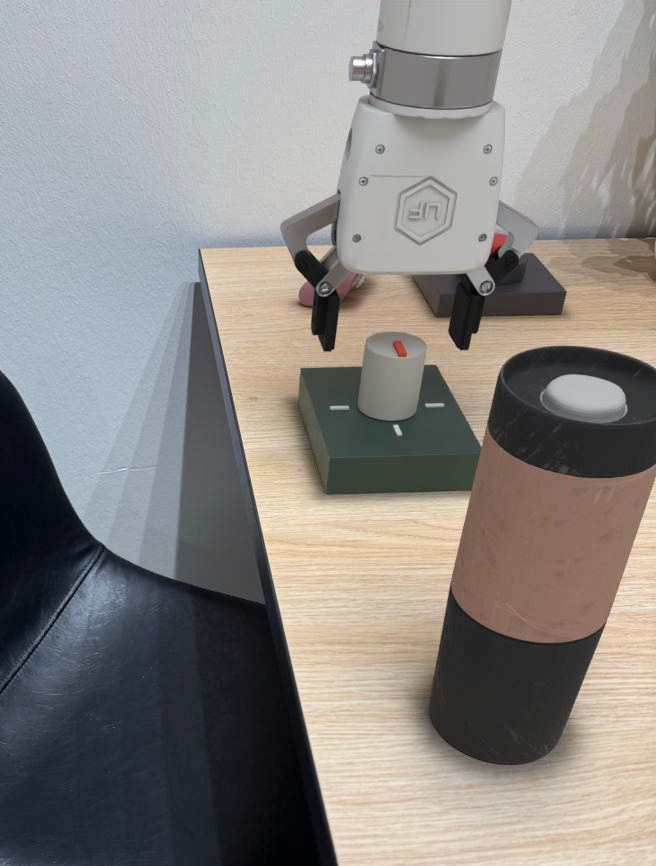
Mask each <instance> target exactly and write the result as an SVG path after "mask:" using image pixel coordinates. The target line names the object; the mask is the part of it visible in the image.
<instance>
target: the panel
mask: <svg viewBox="0 0 656 866" xmlns="http://www.w3.org/2000/svg"><path fill="white" fill-rule="evenodd" d="M361 372H362V365H361V366H326V367H325V366H324V367H323V366H322V367H321V366H320V367H300V370H299V383H298V394H297V404H298V408H299V410H300V414H301V417H302V420H303V423H304V426H305V430H306V433H307V436H308V439H309V443H310V446H311V449H312V452H313V456H314V458H315V462H316V466H317V469H318V472H319V476H320V478H321V482H322V485H323V489H324V492H325V494H326V495H336V494H337V495H338V494H340V495H342V494H343V495H344V494H370V493H371V494H373V493H406V492H407V493H408V492H409V493H410V492H436V491H437V492H439V491H441V492H442V491H472V487H473V482H474V478H475V474H476V469H477V465H478V461H479V456H480V452H481V448H482V444H481V443H480V442H479V440H478V438H477V436H476V434H475V432H474V431H473V429H472V427H471V425H470V424H469V421H468V420H467V418H466V416H465V414H464V413H463V411H462V408H461V407H460V406H459V404H458V401H457V400H456V397H454V394H453V392H452V391H451V389H450V387H449V386H448V384H447V382H446V380H445V378H444V376H443V374H442V372H441V370H440V369H439V367H438V365H437V364H424V369H423V375H422V381H421V387H420V393H419V399H418V405H417V411H416V413H415V414H414V415H413V416H411V417H410V418H407V419H404V420H398V421H385V420H378V419H374V418H371V417H369V416H367V415H365V414H364V413H362V412H361V411H360V410H359V408H358V396H359V388H360V380H361Z"/></svg>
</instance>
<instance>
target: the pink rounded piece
mask: <svg viewBox="0 0 656 866" xmlns="http://www.w3.org/2000/svg"><path fill="white" fill-rule="evenodd" d="M364 282H365V275H364V274H358V273H354V272H352V273H351V274H350V275H349V276H348V277H347V278H346V279H345V280H344V281H343V282H342V283H341V284H340V285H339V286H338V287H337V289H336V291H337V293H338V295H339V297H340V303H341V302H342V301H343V300H344V299H345V297H346V296H347V295H348V293H349V292H350V291H353V289H355V287H356V288H359V287H361V286H362V284H363V283H364ZM314 289H315V288H314V287H313V286H312V285H311V284H310V283H309V282H308V281H307V280H306V282H304V283H303V284H302V286H300V289H299V291H298V300H299V302H300V303H301V304H302V305H304V306H306V307H313V299H314Z"/></svg>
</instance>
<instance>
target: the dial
mask: <svg viewBox="0 0 656 866" xmlns="http://www.w3.org/2000/svg"><path fill="white" fill-rule="evenodd" d="M427 350H428V345H427V343H426V341H425V340H424V339H422V338H420V337H419V336H417V335H415V334H411V333H406V332H402V331H382V332H377V333H373V334H372V335H370V336H368V337H367V338H366V340H365V342H364V350H363V358H362V364H361V366H362V372H361V380H360V388H359V396H358V408H359V410H360V411H361V412H362V413H364V414H365V415H367V416H369V417H371V418H374V419H378V420H385V421H398V420H404V419H407V418H410V417H411V416H413V415H414V414H415V413H416V411H417V405H418V399H419V393H420V387H421V381H422V375H423V369H424V365H425V363H426V357H427Z"/></svg>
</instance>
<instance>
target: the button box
mask: <svg viewBox="0 0 656 866" xmlns="http://www.w3.org/2000/svg"><path fill="white" fill-rule="evenodd" d="M465 275H466V274H465V273H463V274H433V275H412V278H413V280H414V282H415V284H416V285H417V287H418V288H419V290H420V292H421V294H422V295H423V297H424V298H425V300H426V301H427V303H428V305H429V307H430V308H431V310H432V312H433V313H434V315H435V317H437V318H445V317H446V318H447V317H449V318H451V313H452V308H453V303H454V297H455V292H456V287H457V284H458V283H460V279H464V277H465ZM567 293H568V290H566V289H565V288H564V286H563V285H562V284H561V283H560V282H559V281H558V279H557V278H556V277H555V276H554V275H553V274H552V273H551V272H550V270H549V269H548V268H547V267H546V265H545V264H543V262H542V261H541V260H540V259H539V257H538V256H537V255H536V254H535V253H534V252H525V254H524V255H522V256H521V257H520V259H519V264H518V265H517V267H516V268H515V269H513V270H512V271H511V272H510V273H509V274H507V275H506V276H505V277H504V278H503V279H501V280H500V281H499V282H498V283H497V284H495V288H494V290H493V292H492V293H491V294H489V295H486V297H485V302H484V306H483V311H482V316H481V317H491V316H492V317H493V316H496V317H497V316H536V315H562V313H563V309H564V305H565V301H566V297H567Z"/></svg>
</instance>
